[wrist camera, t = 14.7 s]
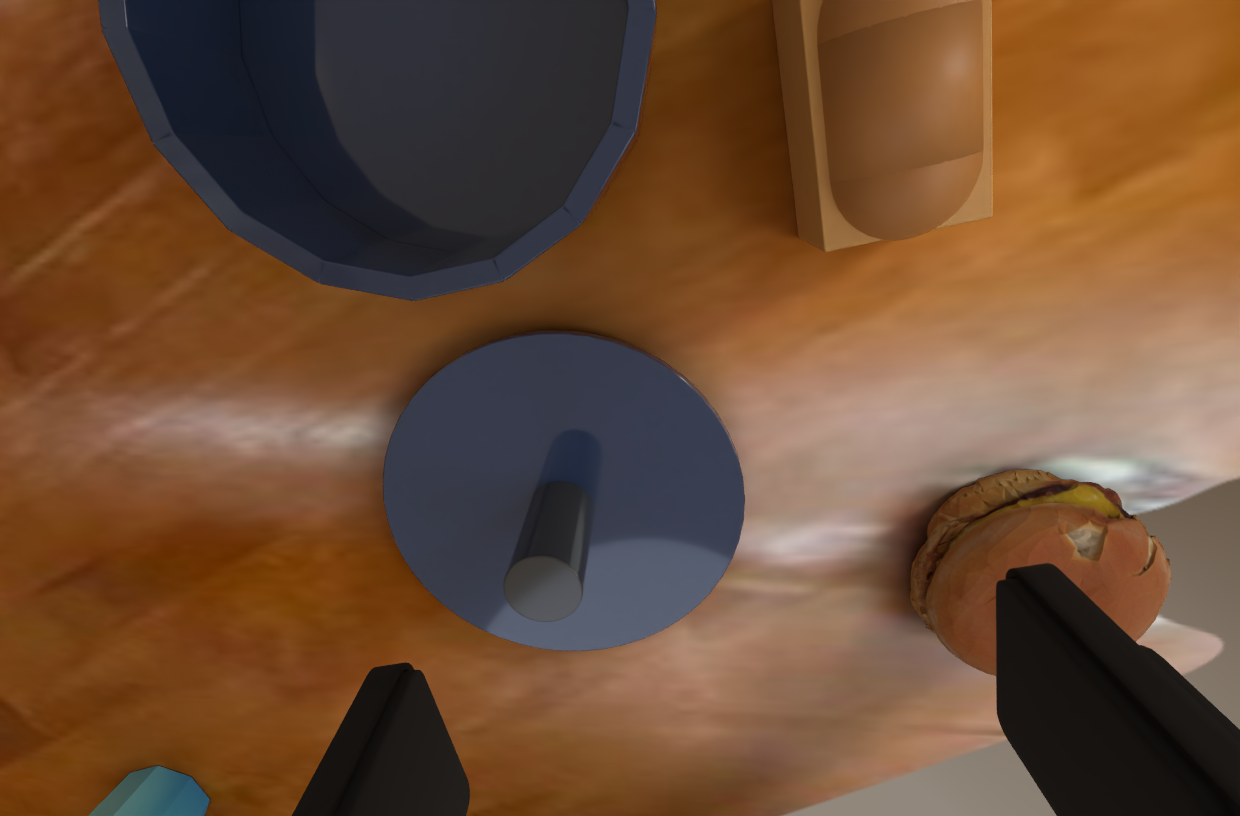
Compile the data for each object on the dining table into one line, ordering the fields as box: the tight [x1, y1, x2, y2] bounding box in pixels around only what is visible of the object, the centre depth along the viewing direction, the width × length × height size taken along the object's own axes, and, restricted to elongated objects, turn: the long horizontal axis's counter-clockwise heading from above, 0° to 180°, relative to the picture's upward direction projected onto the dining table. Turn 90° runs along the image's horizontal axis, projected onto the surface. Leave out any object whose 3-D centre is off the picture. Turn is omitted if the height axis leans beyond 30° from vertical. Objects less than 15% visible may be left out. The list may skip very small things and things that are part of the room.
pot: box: [98, 0, 657, 301], centre depth 20 cm, size 16×16×6 cm
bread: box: [772, 0, 993, 252], centre depth 20 cm, size 9×6×6 cm, turn 12°
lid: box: [383, 330, 745, 651], centre depth 27 cm, size 17×17×7 cm
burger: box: [910, 469, 1171, 676], centre depth 28 cm, size 10×9×5 cm
